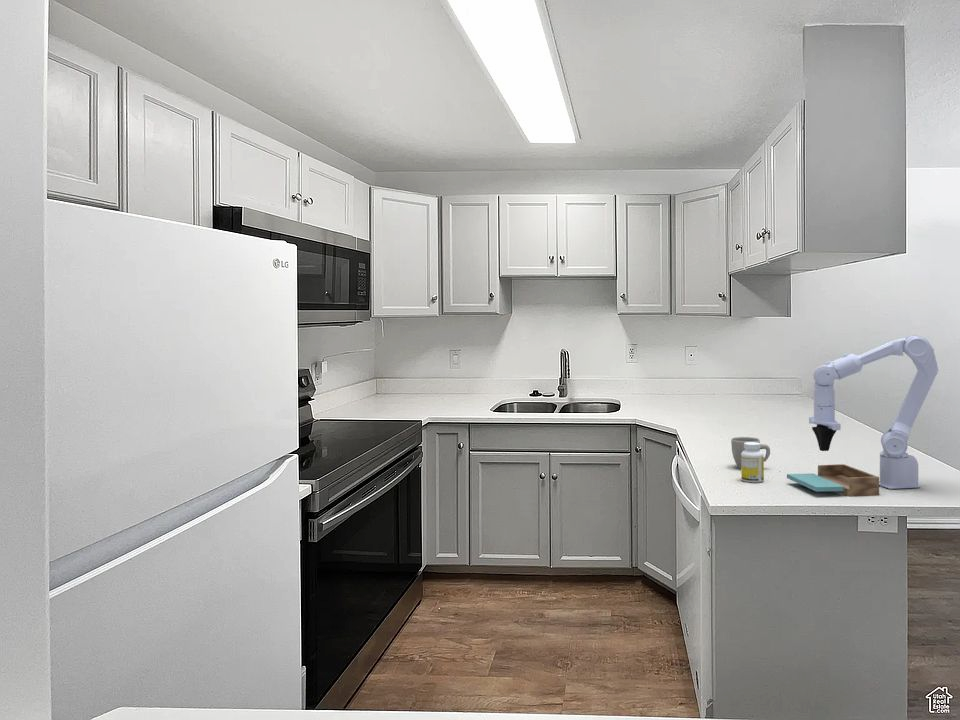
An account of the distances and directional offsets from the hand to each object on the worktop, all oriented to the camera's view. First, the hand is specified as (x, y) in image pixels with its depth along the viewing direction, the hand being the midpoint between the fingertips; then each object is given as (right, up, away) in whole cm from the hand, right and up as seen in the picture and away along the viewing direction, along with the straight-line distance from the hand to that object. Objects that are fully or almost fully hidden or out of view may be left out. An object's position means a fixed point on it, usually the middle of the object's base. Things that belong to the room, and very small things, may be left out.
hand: (824, 450), depth 226 cm
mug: (-14, -9, +22) cm, 27 cm away
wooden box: (+2, -10, -8) cm, 13 cm away
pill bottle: (-20, -10, +4) cm, 23 cm away
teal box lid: (-3, -8, -9) cm, 12 cm away
